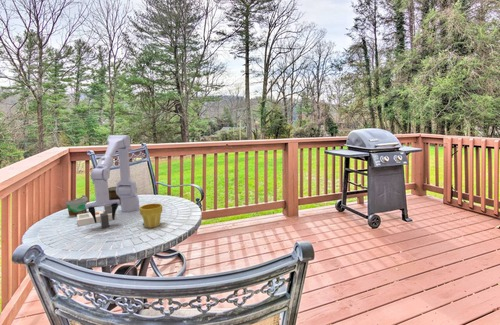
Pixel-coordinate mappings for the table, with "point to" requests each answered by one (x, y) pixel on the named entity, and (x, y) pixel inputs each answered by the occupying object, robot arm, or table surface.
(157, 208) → the plant pot
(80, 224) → the power strip
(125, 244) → the table surface
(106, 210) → the charcoal plug
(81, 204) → the food container
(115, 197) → the ceramic cup
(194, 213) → the table surface
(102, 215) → the dark grey square prism
